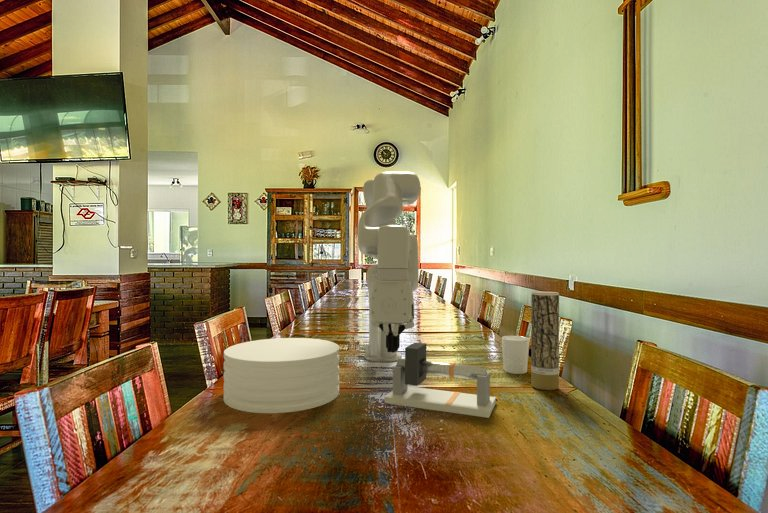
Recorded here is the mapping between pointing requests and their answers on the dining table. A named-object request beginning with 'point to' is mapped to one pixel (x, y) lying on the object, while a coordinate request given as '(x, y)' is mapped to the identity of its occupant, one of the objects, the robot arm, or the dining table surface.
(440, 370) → the pipe
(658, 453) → the dining table surface
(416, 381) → the collar
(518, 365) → the white cup
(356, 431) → the dining table surface
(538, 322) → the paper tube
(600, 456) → the dining table surface
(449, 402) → the orange strap
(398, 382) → the pipe stand
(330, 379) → the plate stack
